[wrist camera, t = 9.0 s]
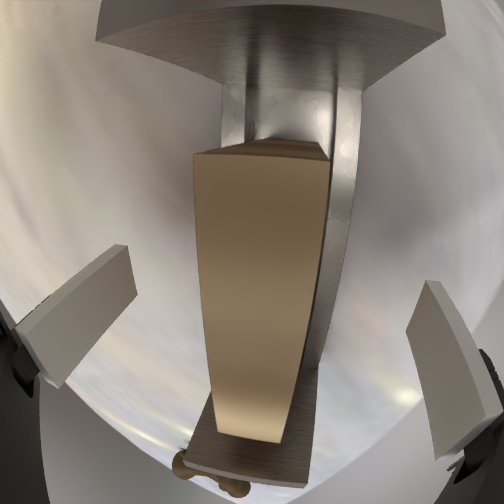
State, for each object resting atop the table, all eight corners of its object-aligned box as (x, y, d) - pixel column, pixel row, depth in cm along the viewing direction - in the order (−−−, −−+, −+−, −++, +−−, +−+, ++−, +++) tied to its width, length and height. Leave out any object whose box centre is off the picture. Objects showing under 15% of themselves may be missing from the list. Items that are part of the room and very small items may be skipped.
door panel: (263, 138, 15) (189, 154, 6) (319, 142, 14) (335, 162, 5) (256, 312, 20) (215, 431, 11) (300, 318, 19) (282, 443, 11)
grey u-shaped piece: (236, 72, 14) (101, 0, 3) (354, 78, 13) (437, -12, 2) (234, 341, 23) (185, 466, 12) (316, 352, 22) (303, 488, 11)
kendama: (223, 476, 44) (164, 436, 37) (264, 477, 41) (209, 439, 34) (217, 498, 39) (153, 463, 32) (259, 501, 35) (199, 471, 29)
